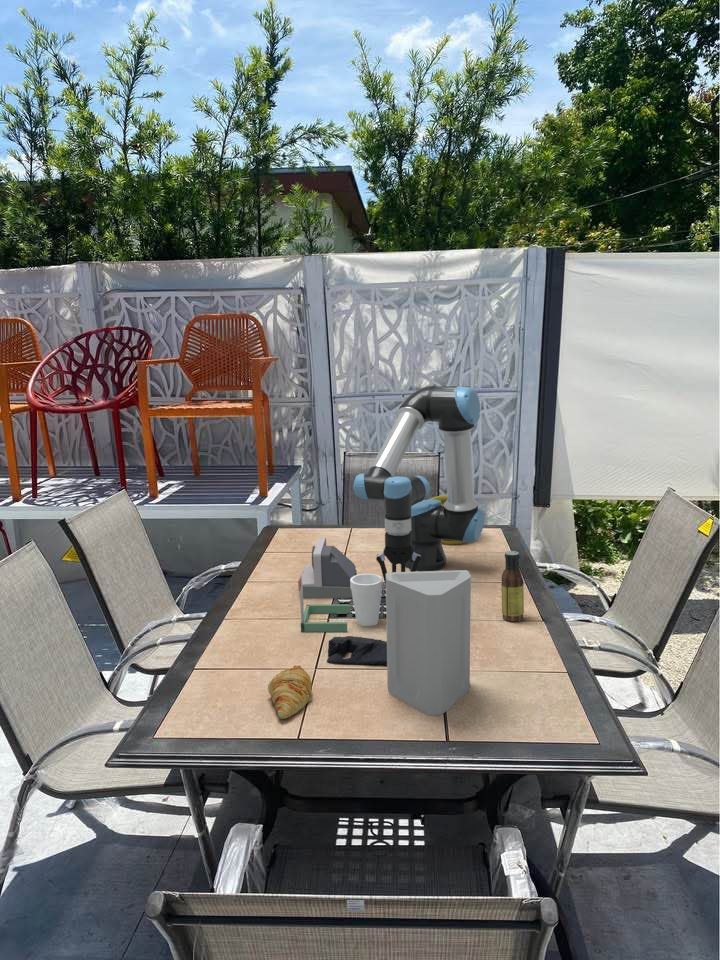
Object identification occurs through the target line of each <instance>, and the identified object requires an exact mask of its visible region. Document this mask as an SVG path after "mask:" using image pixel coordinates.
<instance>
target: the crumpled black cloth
mask: <svg viewBox="0 0 720 960" xmlns="http://www.w3.org/2000/svg"><path fill="white" fill-rule="evenodd" d="M327 649H328V650H327V659H326V662H327V663H329V664H330V663H331V664H335V663H336V664H337V663H338V664H344V665H375V666H376V665H377V666H378V665H386V666H387V640H382V639H375V638H369V637H362V636H360V637H359V636H353V635H346V636H333V637H332V638H331V639H329V640H328V648H327ZM347 653H349V654H350V657H347V658H345V655H346V654H347Z"/></svg>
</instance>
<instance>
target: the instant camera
mask: <svg viewBox="0 0 720 960" xmlns="http://www.w3.org/2000/svg"><path fill="white" fill-rule="evenodd" d="M356 568H357V567H356V565H355V564H354V563H353V561H352V560H351V559H349V557H347V556H346V555H345V554H344V553H343V552H341V550H339V549H338V548H337V547H336V546H335V545H327V536H319V537H318V538H317V541H316V545H313V546H312V548H311V564H306V565H305V566H304V567H303V569H302V571H301V572H302V573H301V575H302V586H303V599H353V597H352V591H351V589H350V578H352V577H353V576H355V575H358V571H357V570H358V569H356Z"/></svg>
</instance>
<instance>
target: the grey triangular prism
mask: <svg viewBox="0 0 720 960" xmlns="http://www.w3.org/2000/svg"><path fill="white" fill-rule="evenodd" d="M471 577H472V576H471V574H470V572H469V570H466V569H464V570H460V569H459V570H433V571H416V572H410V571H405V572H401V571H396V572H392V571H391V572H390V571H389V572H387V573H386V585H385V608H386V610H385V611H386V613H385V615H386V617H385V618H386V619H385V620H386V641H387V665H386V669H387V670H386V673H387V674H386V676H387V677H386V680H387V682H386V683H387V691H388V694H389V695H391V696H393V697H395V698H397V699H398V700H401V701H402V702H403V703H406V704H407V705H408V706H410V707H412V708H414V709H415V710H418V711H419V712H421V713H424V714H425V715H427V716H441V715H443V714H444V713H445V712H447V711H448V710H449V709H450V708H451V707H453V705H455V704H456V703H457V702H459V700H461V699H462V698H463V697H464V696H465V695H467V694H468V692H469V691H470V689H471V688H470V686H471V685H470V681H471V677H470V675H471V672H470V671H471V669H470V668H471V666H470V665H471V662H470V661H471V603H472V602H471V601H472V600H471V597H472V596H471V591H472V589H471V587H472V586H471V585H472V584H471V583H472V582H471V581H472V579H471Z"/></svg>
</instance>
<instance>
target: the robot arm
mask: <svg viewBox="0 0 720 960" xmlns="http://www.w3.org/2000/svg"><path fill="white" fill-rule="evenodd" d="M480 413H481V402H480V398H479V396H478V393H477V392H476V390H475V389H474V388H472V387H468V386H461V385H450V386H449V385H445V386H444V385H443V386H442V385H440V386H439V385H438V386H437V385H427V386H424V387H421V388H418V390H416V391H414V392H413V393H412V394H410V395H409V396H408V397H407V398H406V399H405V400H403V402H402V404H400V406H399V407H398V409H397V412H396V415H395V416H396V417H395V418H396V420H395V422H394V423H393V425H392V427H391V429H390V431H389V433H388V435H387V436H386V439H385V441H384V442H383V444H382V446H381V448H380V449H379V451H378V453H377V455H376V457H375V459H374V461H373V463H372V465H371V466H370V467H369V469H368V472H367V473H365V472H363V473H359V474H357V475H356V476H355V479H354V481H353V492H354V494H355V496H356V497H357V498H360V499H364V500H369V501H371V500H373V501H382V502H383V501H384V531H385V533H384V549H383V552H382V553H380V554H379V553H377V554H376V557H375V559H376V562H377V563H378V564H379V566H380V570H381V573H382V578H383V581H384V584H385V586H386V573H388V570H387V567H386V564H385V562H386V561H385V560H386V559H387V560H388V561H389V562H390V564H391V572H397V565H400V572H406V568H407V569H408V570H409V572H422V571H439V570H441V569H444V568H445V567H446V566H447V557H446V554H445V553H446V552H445V550H444V548H443V545H442V543H441V539H446V540H453V541H460V542H465V543H475V542H477V541H478V540H479V538H480V537H481V535H482V532H483V529H484V526H485V525H484V524H485V516H486V515H485V512H484V510H483V509H482V508H479V502H478V501H477V500H476V498H475V499H474V490H473V488H474V487H473V470H472V469H473V468H472V451H471V446H472V445H471V444H472V443H471V431H473V429H474V428H475V424H477V423H478V422H479V420H480V416H481V414H480ZM427 422H434V423H435V422H436V423H438V430H439V431H440V432H442V434H443V443H444V460H445V477H446V478H445V479H446V480H445V481H446V495H447V497H448V500H447V501H446V502H445V503H444V506H442V503H441V501H440V500H436V499H431V498H430V499H426V498H428V496H429V495H430V493H431V492H430V491H431V486H430V483H429V481H428V479H427V478H426V477H424V476H422V475H413V476H410V477H407V476H399V475H398V476H395V474H396V472H397V470H398V468H399V466H400V465H401V463H402V461H403V459H404V457H405V455H406V452H407V451H408V449H409V447H410V445H411V442H413V440H414V437H415V435H416V433H417V431H418V430H420V429H422V427H424V424H425V423H427Z"/></svg>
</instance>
